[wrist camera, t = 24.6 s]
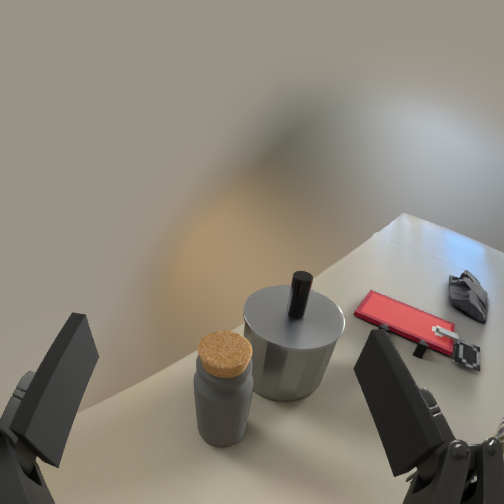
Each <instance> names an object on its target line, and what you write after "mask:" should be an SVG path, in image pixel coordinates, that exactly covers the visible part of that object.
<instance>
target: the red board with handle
mask: <svg viewBox="0 0 504 504" xmlns="http://www.w3.org/2000/svg"><path fill="white" fill-rule="evenodd" d="M354 315H355V316H357V317H359V318H362V319H364V320H366V321H369V322H371V323H373V324H376V325H378V326H379V329H385V331H386V332H387V333H388V330H390V331H392V332H394V333H397V334H399V335H401V336H404V337H406V338H409V339H411V340H413V341H416V342H418V345H417V347H416V349H415V351H414V353H413V355H415V356H417V357H419V358H422V356H423V355H424V353H425V351H426V349H427V347H430V348H432V349H435V350H437V351H440V352H442V353H445V354H447V355H449V356H451V354H452V352H453V346H455V344H456V352H455V362H458V363H460V364H463V365H465V366H467V367H470V368H472V369H475V370H477V371H480V347H477V346H475V345H472V344H470V343H467V342H465V341H463V340H460V339H458V334H456V333H454V327H455V324H453V323H451V322H448V321H446V320H444V319H441V318H439V317H436V316H434V315H431V314H429V313H427V312H424V311H422V310H419V309H417V308H414V307H412V306H409V305H407V304H405V303H402V302H400V301H397V300H395V299H392V298H390V297H387V296H385V295H382V294H380V293H377V292H375V291H372V290H370V292H369V293H368V294H367V296H366V297H365V299H364V300H363V301H362V303H361V304H360V305H359V307H358V308H357V310H356V311H355V313H354ZM379 329H378V330H379ZM437 332H438V333H437Z"/></svg>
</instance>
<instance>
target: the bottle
mask: <svg viewBox="0 0 504 504" xmlns="http://www.w3.org/2000/svg"><path fill="white" fill-rule="evenodd" d="M198 354H199V355H198V357H197V360H196V369H197V371H196V373H195V375H194V394H195V405H196V414H197V423H198V430H199V433H200V435H201V437H202V438H203V439H204V440H205V441H206V442H207V443H209V444H211V445H213V446H217V447H229V446H232V445H234V444H236V443H238V442H239V441H240V440H241V439H242V438H243V436H244V434H245V430H246V425H247V419H248V414H249V409H250V403H251V397H252V391H253V377H252V374H251V372H252V360H251V356H252V346H251V344H250V343H249V341H248V340H247V339H246V338H245V337H243V336H241V335H240V334H237V333H234V332H230V331H218V332H213V333H210V334H208V335H206V336H205V337H204V338H203V339H202V340H201V341H200V343H199V345H198Z"/></svg>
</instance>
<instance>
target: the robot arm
mask: <svg viewBox="0 0 504 504" xmlns="http://www.w3.org/2000/svg"><path fill="white" fill-rule="evenodd" d="M98 358H99V355H98V352H97V349H96V346H95V343H94V340H93V337H92V334H91V330H90V327H89V324H88V320H87V317H86V315H85V314H79V313H72V314H71V315H70V317H69V318H68V320H67V321H66V323H65V325H64V326H63V328H62V329H61V331H60V333H59V334H58V336H57V337H56V339H55V341H54V342H53V344H52V345H51V347H50V349H49V351H48V352H47V354H46V356H45V357H44V359H43V361H42V363H41V364H40V366H39V368H38V370H37V372H36V373H35V372H32V371H28V373H26V374H25V375H24V376H23V377H22V378H21V380H20V381H19V383H18V385H17V387H16V389H15V391H14V393H13V396H11V398H10V400H9V402H8V405H7V406H6V408H5V410H4V413H3V415H2V417H1V419H0V504H55V502H54V500H53V498H52V496H51V494H50V492H49V489H48V487H47V485H46V483H45V480H44V478H43V476H42V473H41V471H40V468H39V466H38V464H37V462H36V457H37V456H38V457H39V458H40V459H41V460H42V461H43V462H45V463H48V464H50V465H52V466H55V467H57V468H59V464H60V461H61V458H62V454H63V451H64V448H65V445H66V442H67V439H68V436H69V433H70V430H71V427H72V424H73V421H74V418H75V416H76V413H77V410H78V407H79V405H80V402H81V399H82V397H83V394H84V392H85V389H86V387H87V384H88V382H89V379H90V377H91V375H92V372H93V370H94V367H95V365H96V363H97V360H98ZM354 371H355V374H356V376H357V379H358V381H359V384H360V386H361V389H362V391H363V394H364V396H365V399H366V401H367V404H368V406H369V409H370V412H371V414H372V417H373V419H374V422H375V425H376V427H377V430H378V433H379V436H380V438H381V441H382V444H383V447H384V449H385V452H386V455H387V458H388V461H389V464H390V466H391V469H392V472H393V475H394V477H396V476H399V475H402V474H404V473H407V472H409V471H411V470H412V469H413V468H415V467H417V471H416V472H415V473H413V474H412V475H411V476H409V477H408V478H407V479H406V482H408V481H409V480H411V479H412V478H413V480H412V481H411V482H410V483H411V485H410V487H409V490H408V492H407V494H406V497H405V499H404V501H403V504H504V459H503V449H502V445H501V443H500V441H499V440H498V439H497V438H495V437H488V438H487V439H486V440H485V441H484V442H483V443H482V444H473V445H468V444H467V443H466V442H464V441H462V440H456V439H455V437H454V435H453V433H452V431H451V429H450V427H449V425H448V423H447V421H446V420H445V418H444V416H443V414H442V412H441V410H440V408H439V406H438V405H437V402H436V401H435V399H434V397H433V395H432V394H431V393H430V392H429V391H428V390H427V389H426V388H425V387H423V388H418V386H417V385H416V383H415V381H414V379H413V377H412V376H411V374H410V372H409V370H408V368H407V367H406V365H405V363H404V361H403V360H402V358H401V356H400V354H399V353H398V351H397V349H396V347H395V346H394V344H393V342H392V341H391V339H390V337H389V336H388V334H387V332H386V331H385V329H379V330H371V332H370V334H369V337H368V339H367V341H366V343H365V346H364V348H363V350H362V352H361V354H360V356H359V358H358V361H357V363H356V365H355V367H354ZM476 475H477V481H474V477H475V476H476Z"/></svg>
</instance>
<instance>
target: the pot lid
mask: <svg viewBox="0 0 504 504" xmlns="http://www.w3.org/2000/svg"><path fill="white" fill-rule="evenodd" d="M312 281H313V276H312V275H311V274H310V273H308V272H305V271H297V272H295V273H294V274H293V279H292V284H291V286H289V285H279V286H271V287H266V288H263V289H261V290H258V291H257V292H255V293H253V294H252V295H251V296H250V297H249V298H248V299H247V300H246V302H245V304H244V309H243V315H244V320H245V323H246V325H247V326H248V328H249V329H250V330H251V331H252V333H253V334H255V335H256V336H257V337H258V338H260V339H261V340H263V341H264V342H266V343H268V344H270V345H272V346H275V347H277V348H281V349H284V350H289V351H296V352H310V351H316V350H321V349H324V348H326V347H328V346H330V345H332V344H334V343H335V342H336V341H337V340H338V339H339V338H340V337H341V335H342V333H343V330H344V327H345V319H344V316H343V313H342V311H341V310H340V308H339V307H338V306H337V305H336V304H335V303H334V302H333V301H332V300H330V299H329V298H327V297H326V296H324V295H322V294H320V293H318V292H316V291H313V290H311V286H312Z"/></svg>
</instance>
